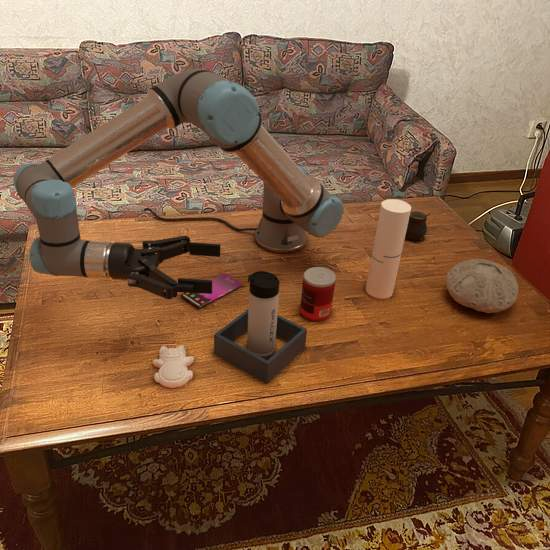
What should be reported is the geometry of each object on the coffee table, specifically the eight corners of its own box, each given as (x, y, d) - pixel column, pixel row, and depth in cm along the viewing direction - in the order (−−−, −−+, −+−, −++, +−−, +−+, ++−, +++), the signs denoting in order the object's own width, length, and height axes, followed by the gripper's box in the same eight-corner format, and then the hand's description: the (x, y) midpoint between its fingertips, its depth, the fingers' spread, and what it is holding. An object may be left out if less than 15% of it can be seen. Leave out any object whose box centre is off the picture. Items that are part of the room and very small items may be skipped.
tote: (213, 353, 123) (213, 334, 120) (254, 321, 133) (255, 303, 130) (266, 383, 116) (268, 364, 113) (305, 347, 126) (307, 329, 123)
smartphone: (179, 296, 139) (179, 293, 139) (223, 274, 149) (223, 271, 148) (198, 309, 135) (198, 306, 135) (242, 285, 145) (242, 283, 144)
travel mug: (244, 341, 127) (247, 268, 116) (273, 341, 127) (278, 268, 116) (245, 360, 122) (248, 285, 111) (275, 359, 122) (281, 285, 111)
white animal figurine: (195, 349, 124) (195, 338, 122) (192, 388, 114) (191, 377, 112) (155, 349, 123) (154, 338, 121) (148, 388, 113) (147, 377, 111)
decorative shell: (494, 331, 135) (506, 298, 130) (429, 299, 145) (438, 267, 139) (523, 301, 147) (535, 269, 141) (461, 273, 156) (470, 243, 151)
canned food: (334, 307, 140) (339, 270, 134) (326, 325, 133) (331, 288, 127) (305, 299, 142) (309, 263, 135) (295, 317, 135) (299, 280, 129)
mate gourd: (407, 229, 176) (413, 200, 171) (429, 237, 173) (436, 208, 167) (397, 237, 171) (403, 208, 166) (420, 246, 168) (426, 216, 162)
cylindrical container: (392, 300, 144) (411, 214, 130) (364, 296, 144) (380, 210, 131) (393, 285, 149) (411, 201, 135) (366, 281, 150) (381, 197, 136)
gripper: (128, 245, 125) (223, 251, 125) (95, 312, 104) (208, 320, 104) (126, 215, 121) (223, 222, 121) (90, 279, 100) (207, 288, 100)
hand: (216, 268), depth 113 cm, fingers open, 13 cm apart
